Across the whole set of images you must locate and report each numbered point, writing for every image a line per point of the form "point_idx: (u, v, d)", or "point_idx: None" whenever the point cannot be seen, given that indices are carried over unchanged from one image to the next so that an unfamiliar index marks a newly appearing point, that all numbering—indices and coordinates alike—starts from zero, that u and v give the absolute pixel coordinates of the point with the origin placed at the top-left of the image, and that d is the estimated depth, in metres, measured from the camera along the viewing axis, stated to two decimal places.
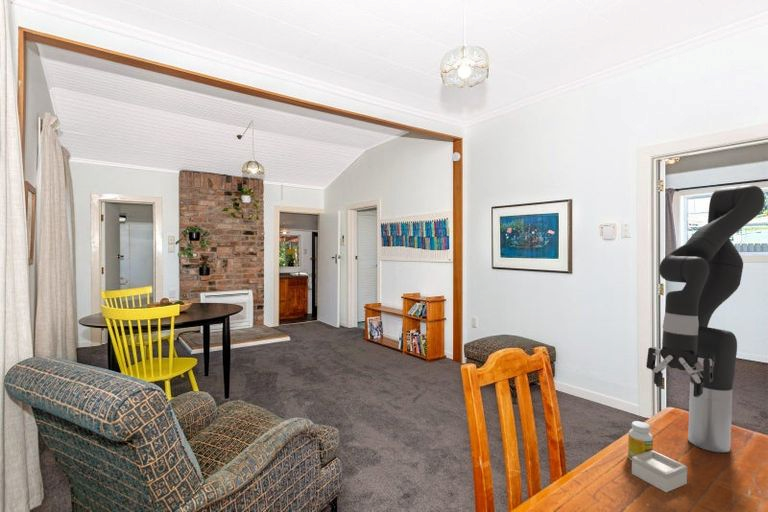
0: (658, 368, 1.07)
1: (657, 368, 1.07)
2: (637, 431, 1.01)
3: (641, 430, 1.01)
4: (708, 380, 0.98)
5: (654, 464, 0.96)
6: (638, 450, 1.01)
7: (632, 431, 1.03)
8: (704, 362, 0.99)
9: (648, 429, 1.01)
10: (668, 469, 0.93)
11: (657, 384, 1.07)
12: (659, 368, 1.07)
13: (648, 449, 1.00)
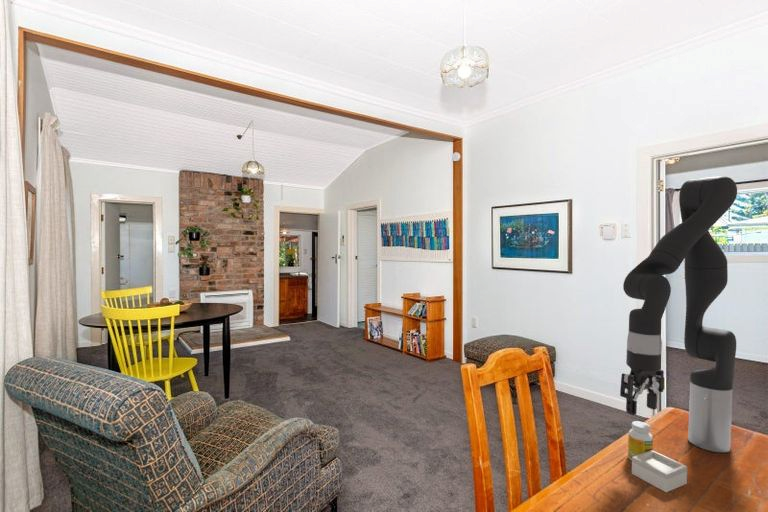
0: (636, 395, 0.99)
1: (636, 396, 0.99)
2: (637, 431, 1.01)
3: (641, 430, 1.01)
4: (663, 389, 1.04)
5: (654, 464, 0.96)
6: (638, 450, 1.01)
7: (632, 431, 1.03)
8: (661, 374, 1.03)
9: (648, 429, 1.01)
10: (668, 469, 0.93)
11: (635, 412, 0.99)
12: (637, 395, 0.99)
13: (648, 449, 1.00)
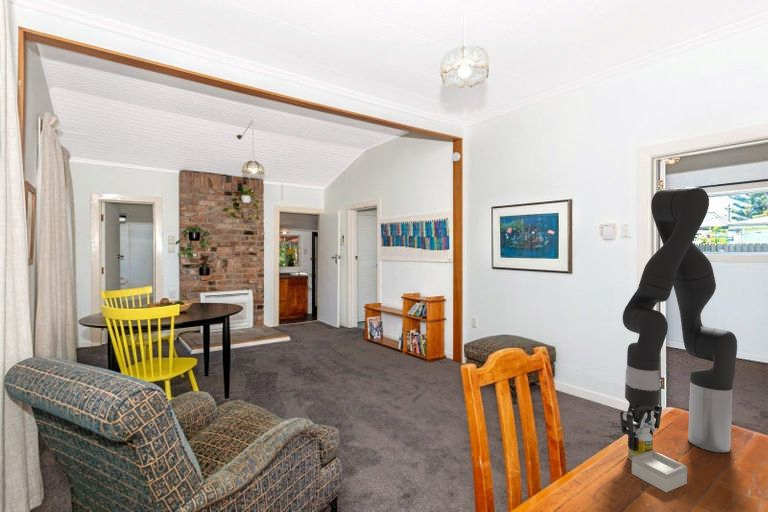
0: (638, 432, 1.00)
1: (637, 432, 1.00)
2: None
3: (641, 430, 1.01)
4: (658, 426, 1.04)
5: (654, 464, 0.96)
6: (638, 450, 1.01)
7: None
8: (659, 410, 1.04)
9: (648, 429, 1.01)
10: (668, 469, 0.93)
11: (637, 449, 1.00)
12: (638, 431, 1.00)
13: (648, 449, 1.00)
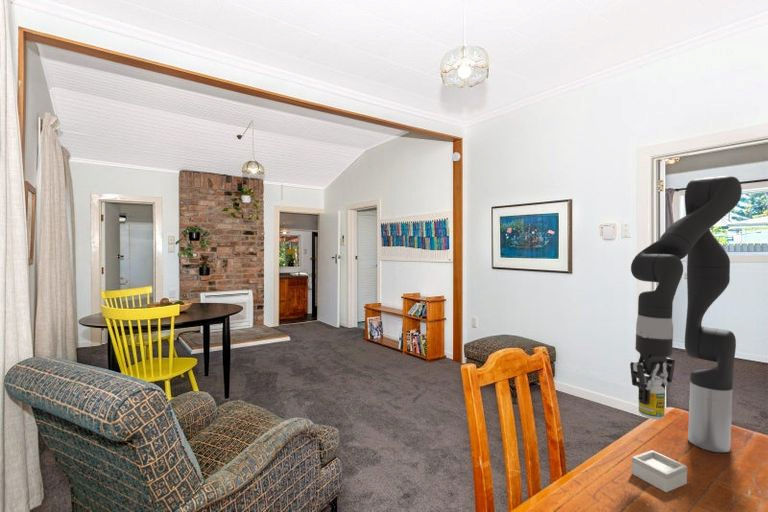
0: (649, 384, 0.95)
1: (649, 384, 0.95)
2: None
3: (652, 383, 0.95)
4: (671, 380, 0.98)
5: (654, 464, 0.96)
6: (649, 403, 0.95)
7: None
8: (672, 363, 0.98)
9: (660, 381, 0.95)
10: (668, 469, 0.93)
11: (648, 402, 0.95)
12: (649, 383, 0.95)
13: (660, 402, 0.95)
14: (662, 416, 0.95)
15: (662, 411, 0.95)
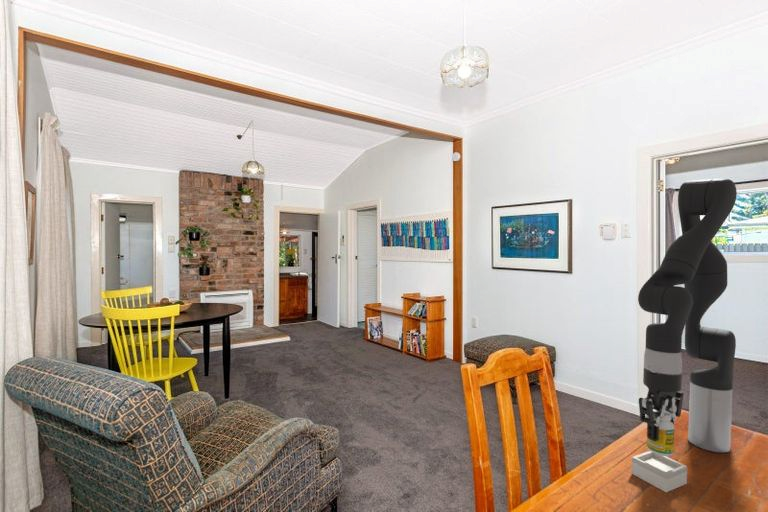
0: (658, 420, 0.92)
1: (658, 420, 0.92)
2: None
3: (661, 418, 0.93)
4: (680, 414, 0.96)
5: (654, 464, 0.96)
6: (658, 440, 0.93)
7: None
8: (681, 396, 0.95)
9: (669, 417, 0.92)
10: (668, 469, 0.93)
11: (657, 438, 0.92)
12: (658, 419, 0.92)
13: (669, 439, 0.92)
14: (671, 453, 0.92)
15: (671, 448, 0.92)
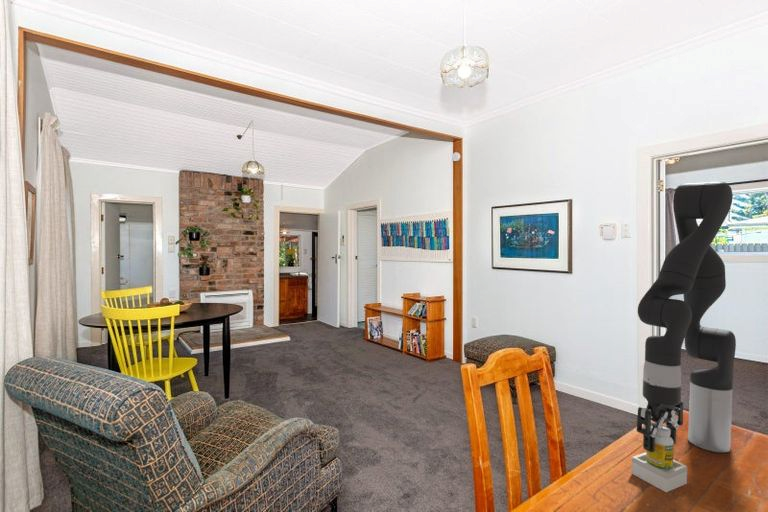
0: (655, 431, 0.92)
1: (654, 431, 0.91)
2: (656, 435, 0.93)
3: (660, 434, 0.93)
4: None
5: None
6: (657, 456, 0.93)
7: None
8: (680, 406, 0.96)
9: (669, 433, 0.93)
10: None
11: (653, 449, 0.92)
12: (655, 430, 0.92)
13: (669, 454, 0.92)
14: (671, 468, 0.92)
15: (671, 463, 0.92)
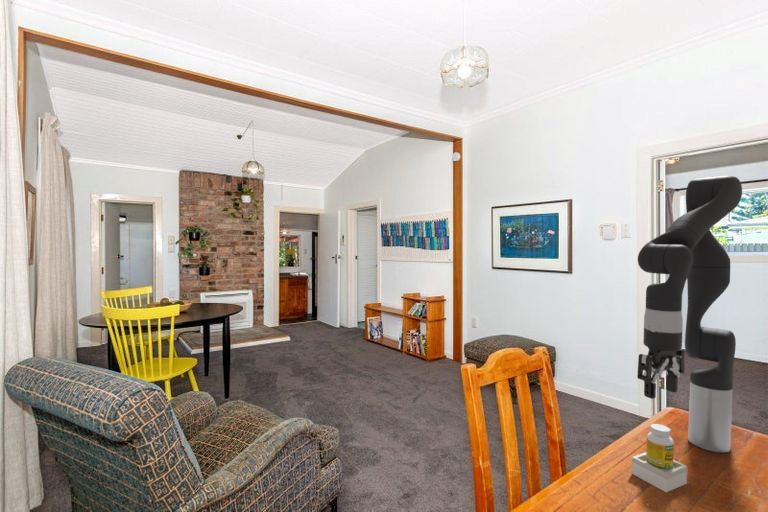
0: (655, 377, 0.91)
1: (655, 378, 0.91)
2: (656, 435, 0.93)
3: (660, 434, 0.93)
4: (683, 370, 0.96)
5: None
6: (657, 456, 0.93)
7: (651, 435, 0.95)
8: (682, 354, 0.95)
9: (669, 433, 0.93)
10: None
11: (654, 396, 0.91)
12: (656, 376, 0.91)
13: (669, 454, 0.92)
14: (671, 468, 0.92)
15: (671, 463, 0.92)
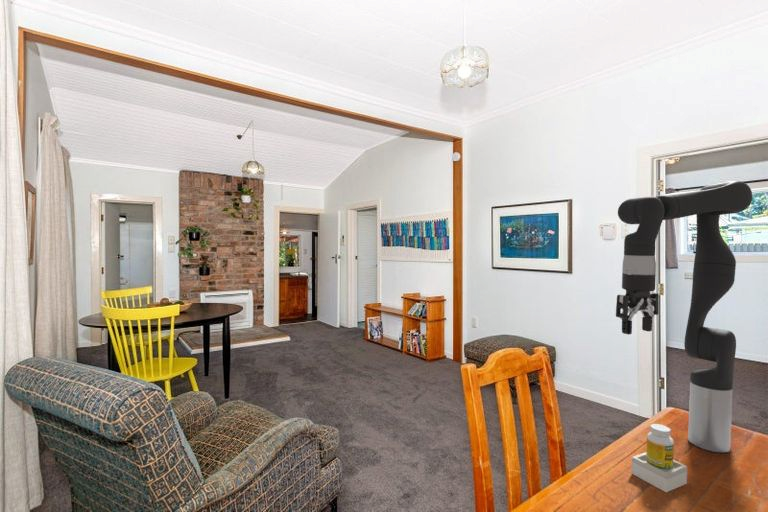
0: (632, 315, 1.02)
1: (631, 315, 1.02)
2: (656, 435, 0.93)
3: (660, 434, 0.93)
4: (657, 312, 1.07)
5: None
6: (657, 456, 0.93)
7: (651, 435, 0.95)
8: (656, 297, 1.06)
9: (669, 433, 0.93)
10: None
11: (630, 332, 1.02)
12: (632, 314, 1.02)
13: (669, 454, 0.92)
14: (671, 468, 0.92)
15: (671, 463, 0.92)
